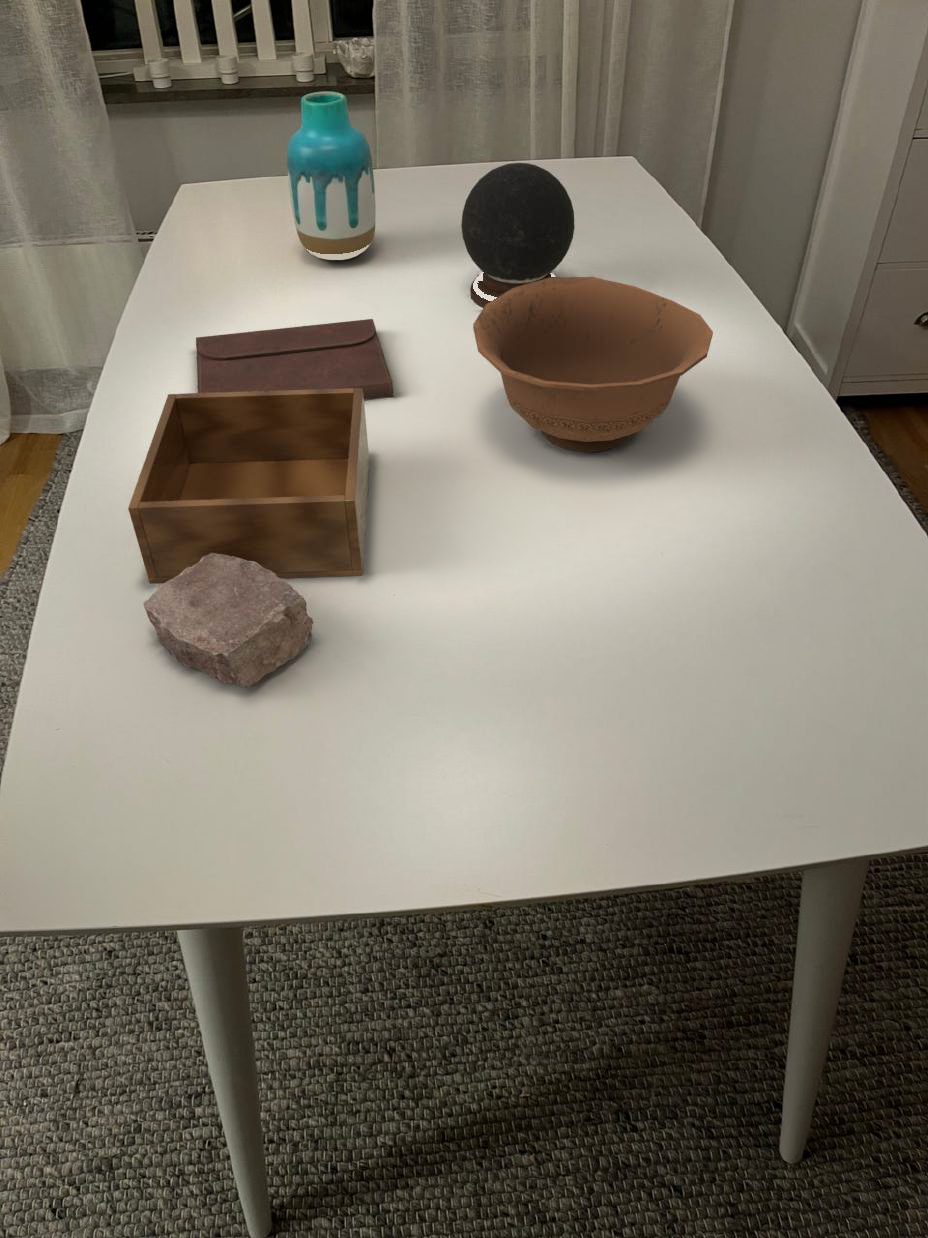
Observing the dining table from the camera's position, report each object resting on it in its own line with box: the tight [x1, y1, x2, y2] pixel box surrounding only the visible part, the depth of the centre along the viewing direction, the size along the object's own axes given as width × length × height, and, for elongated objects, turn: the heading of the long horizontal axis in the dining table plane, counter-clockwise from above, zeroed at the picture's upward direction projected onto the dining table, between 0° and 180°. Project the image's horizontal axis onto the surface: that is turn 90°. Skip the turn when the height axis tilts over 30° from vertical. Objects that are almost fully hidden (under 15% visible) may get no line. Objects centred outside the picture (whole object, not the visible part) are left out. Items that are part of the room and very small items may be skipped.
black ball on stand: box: [460, 162, 576, 309], centre depth 119 cm, size 13×13×15 cm
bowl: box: [472, 276, 714, 453], centre depth 97 cm, size 22×22×11 cm
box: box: [127, 388, 370, 584], centre depth 88 cm, size 18×18×8 cm
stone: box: [142, 553, 314, 688], centre depth 77 cm, size 12×9×5 cm
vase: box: [286, 91, 377, 254], centre depth 127 cm, size 11×11×19 cm
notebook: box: [195, 318, 394, 400], centre depth 109 cm, size 15×20×2 cm
